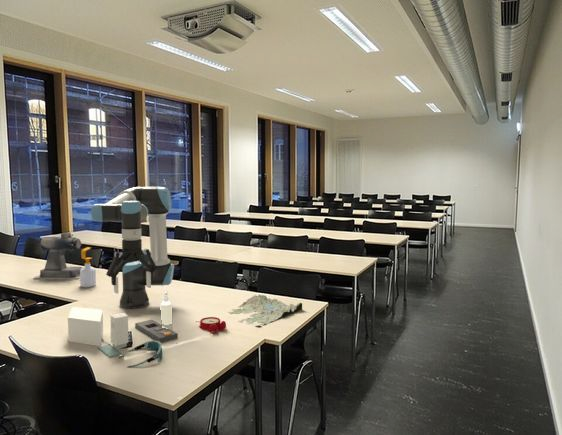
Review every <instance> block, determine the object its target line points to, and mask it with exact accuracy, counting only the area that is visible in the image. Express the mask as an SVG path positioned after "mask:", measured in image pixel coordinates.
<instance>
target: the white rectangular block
mask: <svg viewBox="0 0 562 435" xmlns="http://www.w3.org/2000/svg"><path fill="white" fill-rule="evenodd" d="M67 332H68V333H67V334H68V335H67V337H68V342H69V343H70V342H71V343H77V344H78V343H79V344H86V345H90V346H91V345H92V346H97V347H99V346H102V342H103V334H104V333H103V332H104V314H103V310H102V309H97V308H95V309H94V308H86V307H77V306H72V307H71V310H70V312H69V315H68V317H67Z"/></svg>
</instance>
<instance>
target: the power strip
mask: <svg viewBox="0 0 562 435" xmlns="http://www.w3.org/2000/svg"><path fill="white" fill-rule="evenodd" d="M134 323H135V322H134ZM162 325H163V324H162V323H160V322H157V321H155V320H154V319H147V320H144V321H140V322H139V321H138V322H136V323H135V324H134V326H135V327H134V328H135V329H137V330H138V331H140V332H142V333H144V334H145V335H147V336H148V337H150V338H151V339H153V340H154V341H159V342H160V343H161V344H162V343H165V342H169V341H173V340H175V339H178V338H179V336H178V332H176V331H174V330H173V329H170V328H169V329H166V328H162Z"/></svg>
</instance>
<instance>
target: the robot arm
mask: <svg viewBox="0 0 562 435" xmlns="http://www.w3.org/2000/svg"><path fill="white" fill-rule="evenodd" d="M172 205H173V204H172V196H171V192H170V190H169V189H168V188H167V187H166V186H136V187H135V186H133V187H131V188H127V189H124V190H123V191H121V192H120V193H118V195H117V196H116V197H114V198H112V199H111V200H109V201H107V202H105V203H95V204H93V205H92V206H91V209H90V216H91V219H92V221H94V222H100V223H102V222H103V223H105V222H111V223H112V222H114V223H116V222H119V223H120V222H121V238H122V240H121V244H122V245H121V248H122V249H121V250H122V251H121V252H118V251H114V253H113V258H112V261H111V262H110V265H109V267H108V269H107V272H106V274H105V275H106V277H107V276H108V277H109V278H110V277H111V279H110V280H111V285H112V286H113V292H114V294H116V295H117V294H119V277H118V275H119V273H120V272H121V270H122V273H121V274H122V275H121V276H122V293H121V296H120V299H119V307H120V308H124V309H137V308H138V309H139V308H144V307H147V306H148V305H149V304H150V298H149V296H148V292H147V290H146V288H148V289H150V288H152V286H161V287H163V286H169V285H170V284H171V283H172V282H173V277H174V272H175V271H174V270H175V264H174V263H171V259H170V258H169V256H168V241H167V240H168V237H167V233H168V232H167V215H168V214H169V210H172ZM146 218H148V224H149V225H148V226H149V247H150V249H148V248H144V249H143V247H142V246H143V243H142V242H143V241H142V237H143V236H142V221H145V219H146ZM142 255H144V256H145V258H146V260H147V262H146V261H145V260H144V258H143V257H142ZM121 256H122V259H121V260H120V261H119V259H120V258H121ZM118 262H119V263H118Z"/></svg>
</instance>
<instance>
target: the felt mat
mask: <svg viewBox="0 0 562 435" xmlns="http://www.w3.org/2000/svg"><path fill="white" fill-rule="evenodd" d="M97 347H98V349H99V350H100V351H101V352H102V353H104V354H105V356H107V357H108V358H113V357H117V356H122V355H123V353H122V352H120V351H119V350H118V349H116V348H115V347H114V348H113V345H112V344H109V343H108V344H104V345H101V346H97Z"/></svg>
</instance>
